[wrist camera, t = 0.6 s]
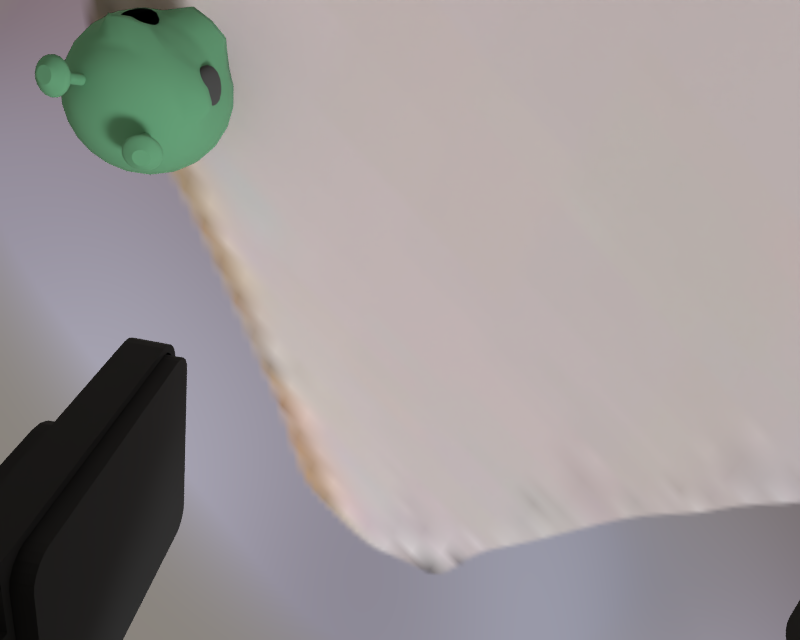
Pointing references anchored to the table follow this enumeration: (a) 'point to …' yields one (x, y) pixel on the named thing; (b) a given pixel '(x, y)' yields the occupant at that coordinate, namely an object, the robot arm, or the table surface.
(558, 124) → the table surface
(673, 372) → the table surface
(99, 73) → the alien toy
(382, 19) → the table surface
